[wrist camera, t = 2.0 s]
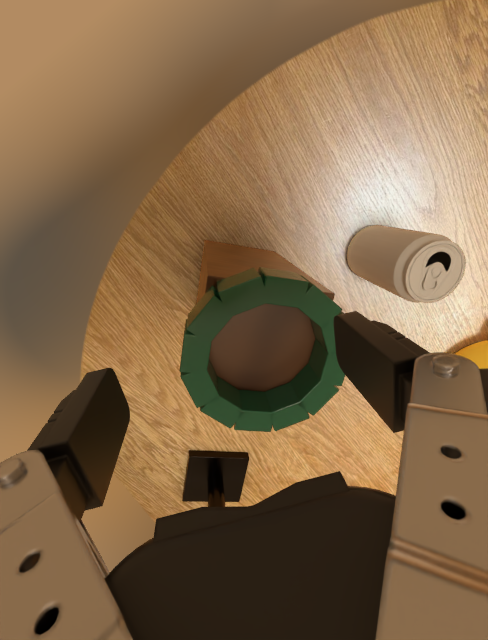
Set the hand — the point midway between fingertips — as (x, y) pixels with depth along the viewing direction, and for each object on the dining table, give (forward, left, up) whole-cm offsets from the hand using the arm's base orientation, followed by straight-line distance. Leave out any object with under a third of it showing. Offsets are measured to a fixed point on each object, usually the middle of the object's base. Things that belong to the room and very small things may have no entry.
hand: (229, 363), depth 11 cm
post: (+5, -34, -27) cm, 44 cm away
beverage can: (+19, +3, -27) cm, 33 cm away
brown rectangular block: (+3, -3, -27) cm, 27 cm away
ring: (+4, -3, -9) cm, 10 cm away
